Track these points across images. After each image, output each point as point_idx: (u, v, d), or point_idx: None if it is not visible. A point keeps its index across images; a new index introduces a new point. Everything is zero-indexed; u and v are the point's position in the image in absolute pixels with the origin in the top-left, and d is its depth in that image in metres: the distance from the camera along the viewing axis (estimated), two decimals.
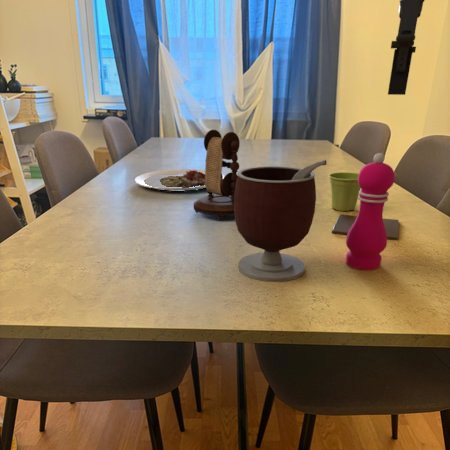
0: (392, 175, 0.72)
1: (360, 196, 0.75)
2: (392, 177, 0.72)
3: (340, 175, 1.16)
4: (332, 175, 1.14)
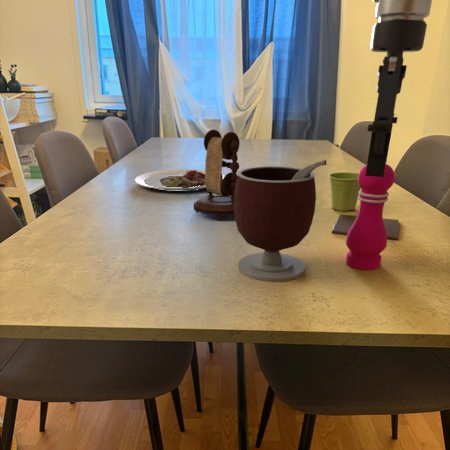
0: (392, 175, 0.72)
1: (360, 196, 0.75)
2: (392, 177, 0.72)
3: (340, 175, 1.16)
4: (332, 175, 1.14)
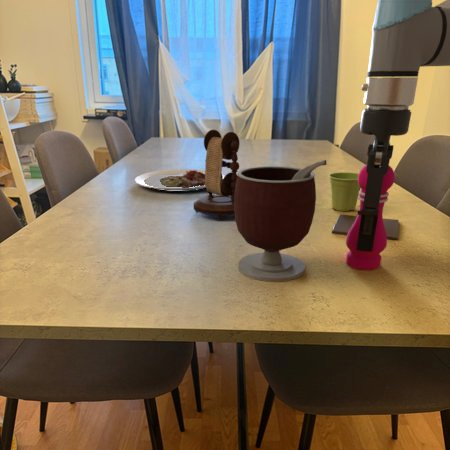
0: (392, 175, 0.72)
1: (360, 196, 0.75)
2: (392, 177, 0.72)
3: (340, 175, 1.16)
4: (332, 175, 1.14)
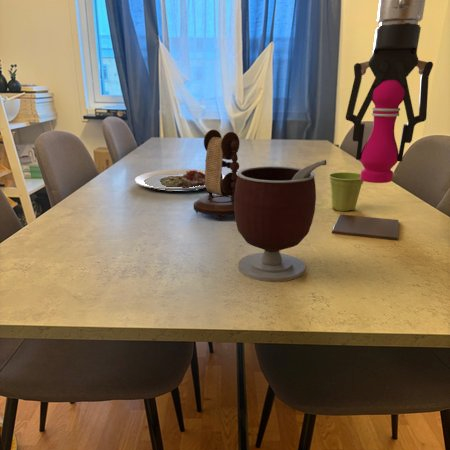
0: None
1: (391, 112, 0.80)
2: None
3: (340, 175, 1.16)
4: (332, 175, 1.14)
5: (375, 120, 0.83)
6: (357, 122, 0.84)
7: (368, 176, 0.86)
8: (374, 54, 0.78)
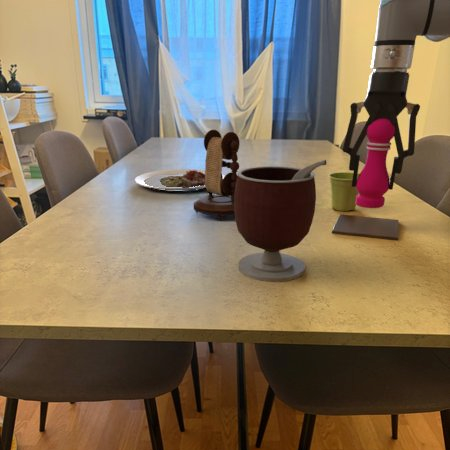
0: None
1: (383, 147, 0.90)
2: None
3: (340, 175, 1.16)
4: (332, 175, 1.14)
5: (369, 153, 0.93)
6: (353, 154, 0.94)
7: (362, 202, 0.96)
8: (368, 96, 0.88)
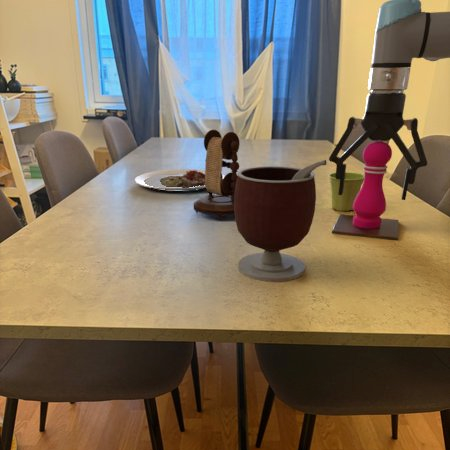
0: None
1: (379, 170, 0.93)
2: None
3: None
4: (332, 175, 1.14)
5: (365, 175, 0.95)
6: (338, 163, 0.96)
7: (359, 223, 0.98)
8: (366, 116, 0.90)
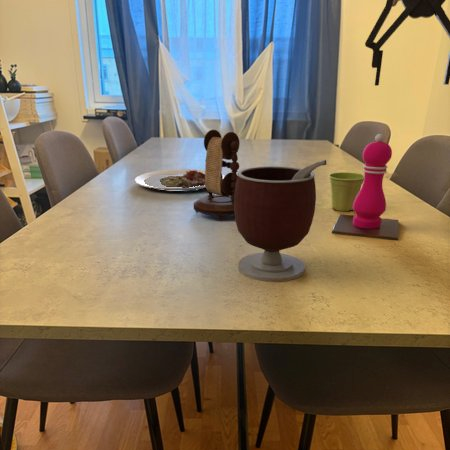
0: None
1: (379, 170, 0.93)
2: None
3: (340, 175, 1.16)
4: (332, 175, 1.14)
5: (365, 175, 0.95)
6: (376, 48, 0.89)
7: (359, 223, 0.98)
8: None
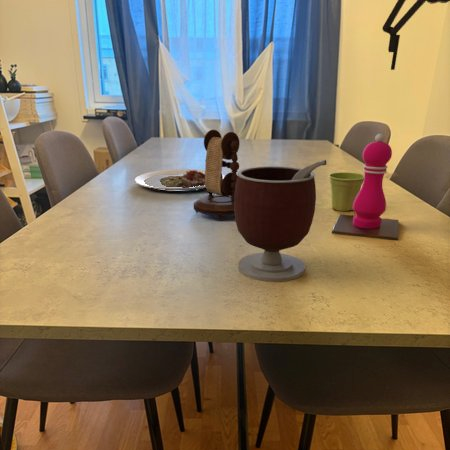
0: None
1: (379, 170, 0.93)
2: None
3: (340, 175, 1.16)
4: (332, 175, 1.14)
5: (365, 175, 0.95)
6: (393, 32, 0.91)
7: (359, 223, 0.98)
8: None
